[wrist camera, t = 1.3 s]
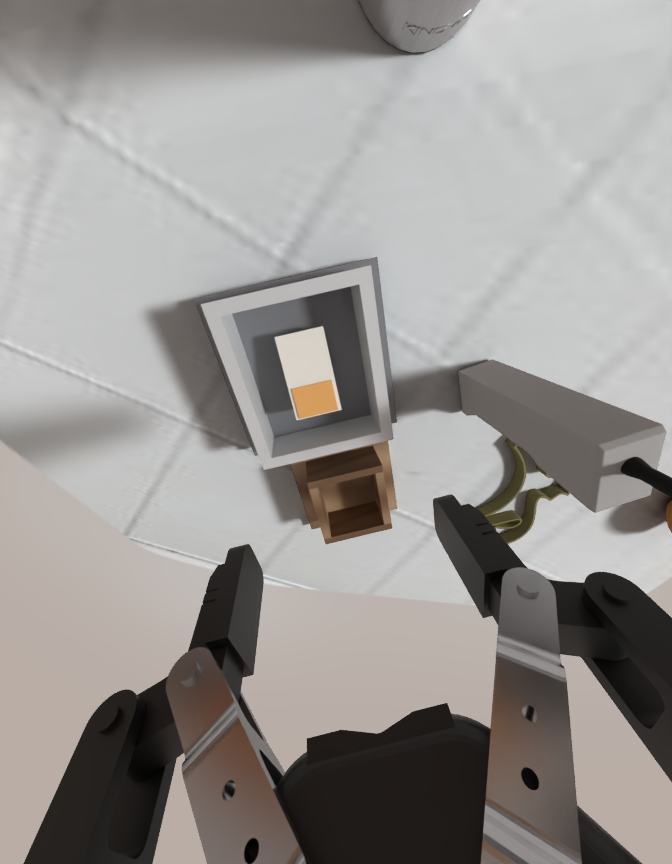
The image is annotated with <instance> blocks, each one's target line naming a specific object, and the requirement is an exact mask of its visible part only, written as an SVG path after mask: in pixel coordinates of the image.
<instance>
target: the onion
mask: <svg viewBox="0 0 672 864" xmlns="http://www.w3.org/2000/svg"><path fill="white" fill-rule="evenodd" d="M666 521H667V524H668V527H669V529H670V531H671V532H672V500H671V501H670V502H669V503H668V505H667V508H666Z"/></svg>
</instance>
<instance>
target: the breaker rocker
mask: <svg viewBox="0 0 672 864" xmlns="http://www.w3.org/2000/svg"><path fill="white" fill-rule="evenodd" d="M274 338H275V342H276V345H277V349H278V353H279V357H280V360H281V364H282V368H283V372H284V375H285V379H286V383H287V387H288V390H289V394H290V398H291V402H292V405H293V409H294V413H295V417H296V420H301V419H305V418H309V417H314V416H318V415H322V414H326V413H331V412H335V411H339V410H342V409H341V404H340V400H339V395H338V391H337V386H336V382H335V377H334V373H333V368H332V364H331V359H330V355H329V350H328V346H327V341H326V337H325V332H324V328H323V326H321V327H316V328H312V329H308V330H304V331H299V332H295V333H291V334H286V335H282V336H278V337H274Z"/></svg>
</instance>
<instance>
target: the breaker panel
mask: <svg viewBox="0 0 672 864" xmlns="http://www.w3.org/2000/svg"><path fill="white" fill-rule="evenodd" d="M194 301H195V303H196V306H197V308H198V311H199V313H200V316H201V318H202V321H203V324H204V326H205V329H206V331H207V334H208V336H209V339H210V342H211V344H212V347H213V349H214V352H215V354H216V357H217V360H218V362H219V365H220V367H221V370H222V372H223V375H224V378H225V380H226V383H227V385H228V388H229V390H230V393H231V396H232V398H233V401H234V403H235V406H236V408H237V411H238V414H239V416H240V419H241V421H242V424H243V426H244V429H245V432H246V434H247V437H248V439H249V442H250V444H251V447H252V450H253V452H254V455H255V456H256V455H258V456H259V459H260V461H261V464H262V467H263V469H264V470H266V469H271V468H275V467H279V466H283V465H287V464H292V463H296V462H300V461H304V460H308V459H313V458H317V457H321V456H325V455H329V454H334V453H338V452H342V451H346V450H350V449H355V448H359V447H363V446H367V445H371V444H376V443H380V442H384V441H388V440H392V439H393V431H392V424H391V423H395V422H397V419H396V411H395V402H394V394H393V385H392V377H391V369H390V360H389V352H388V343H387V335H386V327H385V318H384V310H383V302H382V293H381V285H380V276H379V268H378V260H377V257H375V258H371V259H366V260H362V261H358V262H353V263H349V264H344V265H340V266H336V267H331V268H327V269H323V270H318V271H314V272H309V273H305V274H301V275H296V276H292V277H288V278H283V279H279V280H274V281H270V282H266V283H261V284H257V285H253V286H248V287H244V288H239V289H235V290H231V291H226V292H222V293H218V294H213V295H209V296H204V297H200V298H196V299H194ZM321 326H323V328H324V332H325V337H326V341H327V346H328V350H329V355H330V359H331V364H332V368H333V373H334V377H335V382H336V386H337V391H338V395H339V400H340V404H341V409H342V410H339V411H335V412H331V413H326V414H322V415H318V416H314V417H309V418H305V419H301V420H296V417H295V413H294V409H293V405H292V402H291V398H290V394H289V390H288V387H287V383H286V379H285V375H284V372H283V368H282V364H281V360H280V357H279V353H278V349H277V345H276V342H275V338H274V337H278V336H282V335H286V334H291V333H295V332H299V331H304V330H308V329H312V328H316V327H321Z"/></svg>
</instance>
